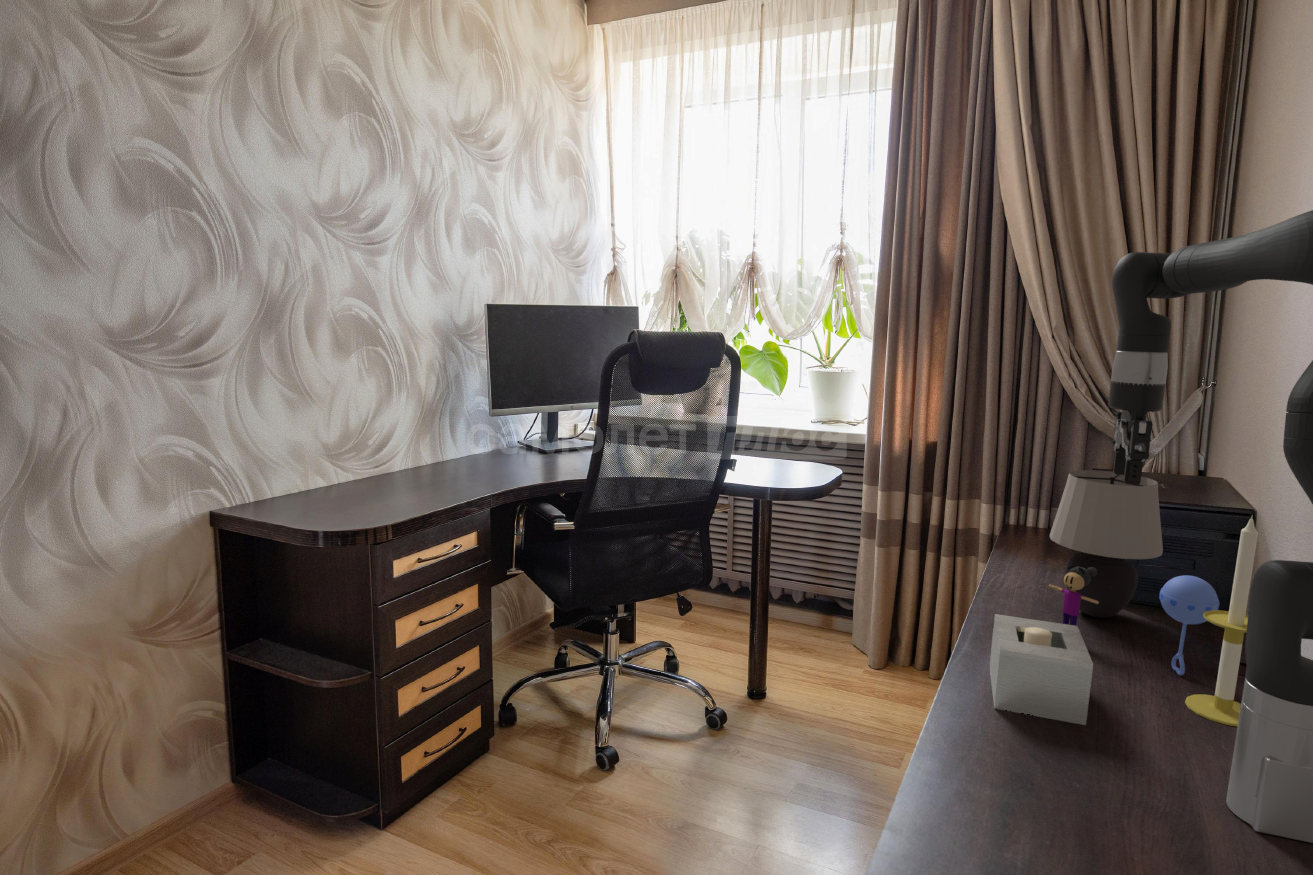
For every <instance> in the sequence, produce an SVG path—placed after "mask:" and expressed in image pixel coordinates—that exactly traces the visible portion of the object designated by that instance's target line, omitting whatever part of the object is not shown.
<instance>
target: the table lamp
mask: <svg viewBox="0 0 1313 875" xmlns="http://www.w3.org/2000/svg"><path fill="white" fill-rule="evenodd" d="M1159 501H1160V499H1159V482H1158V481H1157V480H1154V479H1152V478H1149V477H1146V476H1142V475H1141V482H1140V484H1138V485H1133V484H1126V483H1125V482H1124V475H1117V474H1115V473H1114V472H1113V471H1110V470H1107V471H1106V470H1097V469H1096V470H1092V469H1090V470H1089V469H1087V470H1086V469H1083V470H1082V469H1081V470H1080V469H1079V470H1073V471H1070V472H1068V476H1067V480H1066V484H1065V487H1064V490H1063V493H1062V496H1061V499H1060V503H1059V505H1058V508H1057V512H1056V514H1055V518H1054V520H1053V524H1052V527H1051V529H1050V533H1049V538H1050V541H1052V542H1054V543H1056V544H1057V545H1059V546H1062V547H1065V548H1068V549H1070V550H1074V551H1077V553H1075V554H1073V555H1071V556H1070V557H1069V559H1067V561H1066V563H1065V567H1064V573H1063V574H1064V576H1065V575H1066V574H1067V573H1069V571H1070V570H1071V569H1072V568H1070V569H1069V570H1068V567H1069V566H1071V565H1074V566H1075V567H1083V568H1086V569H1088V568H1089V567H1094V568H1095V569H1096V570H1097V575H1096V576H1093V577H1092V576H1091V581H1090V583H1089V584H1088V585H1087V586H1085V587H1083V588H1082V589H1080V590H1075V591H1077V592H1078V593H1080V594H1081V595H1083V596H1085V597H1088V598H1090V599H1093V600H1096V601H1098V602H1099V603H1098V604H1096V603H1093V602H1090V601H1087V600H1084V599H1081V602H1080V609H1079V612H1082V613H1083V614H1085V615H1088V616H1089V617H1094V618H1102V619H1103V618H1104V619H1105V618H1111V617H1114V616H1115V615H1117V614H1118V613H1120V612H1121V611H1122V610H1123V609H1125V608H1126V607H1127V606H1128V604H1129V603H1130V602H1131V600H1132V598H1133V597H1134V595H1135V592H1136V589H1137V587H1138V584H1139V576H1138V571H1137V569H1136V567H1135V565H1134V564H1132V563H1131V562H1130V561H1129V560H1148V559H1156V558H1158V557H1162V555H1163V552H1164V547H1163V546H1164V545H1163V536H1162V523H1161V522H1162V521H1161V514H1160V502H1159ZM1066 590H1071V589H1069V588H1067V587H1066Z"/></svg>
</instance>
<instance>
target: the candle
mask: <svg viewBox="0 0 1313 875" xmlns="http://www.w3.org/2000/svg"><path fill="white" fill-rule="evenodd" d="M1253 516H1254V515H1251V517H1250V518H1249V520H1248V522H1247V524H1246V526H1245V527H1244V528H1242V529H1241V530H1240V536H1239V544H1238V549H1237V556H1236V563H1235V570H1234V576H1233V581H1232V582H1233V583H1232V587H1231V588H1232V589H1231V594H1230V595H1231V596H1230V602H1229V609H1228V611H1227V610H1219V609H1218V610H1211V611H1207V612H1205V613H1204V615H1203V617H1204V618H1205V619H1206V620H1207V621H1206V622H1209V623H1211V624H1212V625H1214V626H1217V627H1220V628H1223V629H1224V633H1223V638H1222V646H1221V650H1220V657H1219V658H1220V659H1219V665H1218V671H1217V672H1218V673H1217V679H1216V684H1215V691H1214V695H1210V694H1205V693H1204V694H1200V693H1199V694H1191V695H1188V696H1187V697H1186V699H1185V701H1184V703H1185V705H1186V706H1187V708H1188V709H1189V710H1191V711H1192V712H1194V713H1195V714H1196V715H1198V716H1200V717H1202V718H1204V719H1207V720H1209V721H1212V722H1215V723H1219V724H1222V725H1225V726H1231V727H1236V728H1237V727H1238V721H1239V714H1240V708H1241V703H1240V702H1238V701H1235V694H1236V688H1237V682H1238V677H1239V676H1238V675H1239V667H1240V663H1241V655H1242V650H1243V644H1244V643H1243V642H1244V638H1245V634H1246V633H1247V623H1248V614H1247V606H1248V603H1249V596H1250V589H1251V583H1252V577H1253V576H1252V574H1253V568H1254V562H1255V556H1256V550H1257V543H1258V537H1259V532H1258V530H1257V529H1256V526H1255V523H1254V519H1253Z"/></svg>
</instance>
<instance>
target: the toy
mask: <svg viewBox="0 0 1313 875" xmlns="http://www.w3.org/2000/svg"><path fill="white" fill-rule="evenodd" d="M1070 568H1072V569H1071V570H1070V571H1069V573H1067V574H1066V575H1065V574H1064V578H1063V583H1064V586H1065V587H1066V589H1065V588H1062V587H1060V586H1056V585H1053V584H1048V585H1047V586H1048V587H1049V588H1051V589H1053V590H1056V591H1059V592H1061V593H1063V603H1062V604H1063V605H1062V623H1061V624H1067V625H1074V626H1077V623H1078V617H1079V614H1080V610H1079V609H1080V602H1081V599H1084V600H1087V601H1090V602H1093V603H1096V604H1098V603H1099V602H1098V601H1096V600H1093V599H1090V598H1088V597H1085V596H1083V595H1081V594H1080V593H1078V592H1077V591H1075V590H1080V589H1082V588H1083V587H1085V586H1087V585H1088V584H1089V583H1090V581H1091V576H1092V577H1093V576H1096V575H1097V570H1096V569H1095V568H1094V567H1089V568H1088V569H1086V568H1083V567H1075V566H1074V565H1071V566H1069V567H1068V570H1069V569H1070ZM1067 588H1069V589H1071V590H1067Z"/></svg>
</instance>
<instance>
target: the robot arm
mask: <svg viewBox="0 0 1313 875" xmlns="http://www.w3.org/2000/svg"><path fill="white" fill-rule="evenodd" d="M1112 272H1113V273H1112V277H1111V278H1112V279H1111V285H1112V292H1113V298H1114V302H1115V303H1114V304H1115V307H1116V308H1115V309H1116V314H1117V315H1116V316H1117V321H1118V335H1117V344H1116V351H1115V356H1114V359H1113V362H1112V363H1113V364H1112V370H1111V375H1110V376H1111V377H1110V378H1111V379H1110V384H1109V385H1110V387H1109V394H1108V402H1107V406H1108V407H1109V408H1111V409H1115V410H1119V411H1116V413H1115V423H1114V428H1113V438H1112V442H1111V444H1112V446H1113V450H1114V452H1115V453H1114V462H1113V469H1112V472H1114V473H1115V474H1117V475H1124V482H1125V483H1126V484H1133V485H1138V484H1140V482H1141V476H1142V474H1143V473H1142V472H1143V464H1144V462H1145V461H1146V460H1149V458H1150V447H1151V439H1152V438H1151V437H1152V429H1153V426H1154V425H1153V421H1152V420H1147V414H1148V412H1151V413H1157V412H1160V411H1162V410H1163V406H1164V399H1165V390H1166V385H1167V377H1168V376H1167V375H1168V369H1169V367H1168V366H1169V364H1168V363H1169V362H1168V360H1169V359H1168V352H1169V346H1170V338H1171V330H1172V323H1171V319H1170V318H1169V317H1168V316H1166V315H1164V314H1159V313H1156V312H1153V311H1152V310H1151V308H1150V305H1149V302H1148V299H1160V300H1161V299H1164V300H1165V299H1175V298H1182V297H1185V296H1189V295H1191V294H1200V293H1203V294H1204V293H1210V292H1219V291H1224V290H1228V289H1229V290H1230V289H1232V288H1236V287H1239V286H1241V285H1243V284H1246V283H1247V282H1249V281H1257V280H1261V281H1262V280H1271V281H1272V280H1273V281H1274V280H1275V281H1282V282H1283V281H1284V282H1285V281H1286V282H1295V283H1302V284H1303V283H1304V284H1309V285H1312V286H1313V209H1312V210H1308V211H1306V212H1303V213H1300V214H1298V215H1295V216H1293V217H1290V218H1288V219H1285V220H1283V221H1280V222H1278V223H1275V224H1272V225H1270V226H1267V227H1265V228H1261V229H1259V230H1256V231H1251V232H1250V233H1247V234H1243V235H1238V236H1233V237H1229V238H1228V237H1227V238H1223V239H1217V240H1210V241H1206V242H1201V243H1196V244H1191V245H1186V246H1183V247H1181V248H1178V249H1177V250H1174V251H1173V252H1146V251H1145V252H1144V251H1142V252H1141V251H1135V252H1129V253H1126V254H1125V255H1124V256H1122V257H1121V258H1120V259H1119V261H1117V264H1116V265H1115V267H1114V269H1113V271H1112ZM1285 411H1286V413H1285V418H1284V419H1285V420H1284V430H1283V442H1282V443H1283V444H1282V445H1283V446H1282V447H1283V448H1282V450H1283V454H1284V458H1285V460H1286V463H1287V465H1288V466H1289V468H1290V470H1291V472H1292V474H1293V475H1294V478H1295V479H1296V480H1297V483H1299V485H1300V487H1301V488H1302V490H1303V492H1304V493H1305V495H1306V496H1307V497H1308V499H1309V501H1310V502H1311V504H1312V505H1313V360H1312V361H1311V362H1310V363H1309V365H1308V366H1307V367H1306V369H1305V370H1304V371H1303V372H1302V374H1301V375H1300V376H1299V378H1298V380H1297V381H1296V382H1295V384H1294V386H1293V388H1292V389H1291V390H1290V393H1289V395H1288V399H1287V403H1286V410H1285ZM1247 615H1248V623H1247V633H1245V634H1246V635H1245V644H1244V649H1245V650H1244V651H1245V652H1244V654H1245V661H1246V662H1245V664H1246V670H1245V675H1244V676H1245V677H1244V684H1243V690H1242V697H1241V703H1240V704H1241V708H1240V714H1239V721H1238V727H1236V734H1235V741H1234V748H1233V753H1232V761H1231V765H1230V772H1229V779H1228V787H1227V793H1226V801H1225V802H1226V805H1227V807H1228V809H1229V810H1230V811H1231V812H1232V813H1233V814H1234V815H1236V816H1237V817H1238V818H1239V819H1240V820H1242V821H1244V822H1246V823H1247V824H1249V825H1250V826H1251V827H1252V829H1253V831H1255V832H1257V833H1264V834H1267V835H1268V834H1269V835H1272V836H1278V837H1282V838H1287V839H1293V840H1297V841H1301V842H1307V843H1311V844H1313V659H1310V658H1308V657H1305V656H1303V655H1302V640H1303V639H1304V640H1312V641H1313V561H1312V562H1311V561H1298V560H1282V559H1277V560H1276V559H1275V560H1274V559H1272V560H1268V561H1265V562H1264V563H1262V564H1261V565H1259V567H1258V568H1257V569H1256V572H1255V573H1254V575H1253V578H1252V579H1251V583H1250V589H1249V596H1248V613H1247Z"/></svg>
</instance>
